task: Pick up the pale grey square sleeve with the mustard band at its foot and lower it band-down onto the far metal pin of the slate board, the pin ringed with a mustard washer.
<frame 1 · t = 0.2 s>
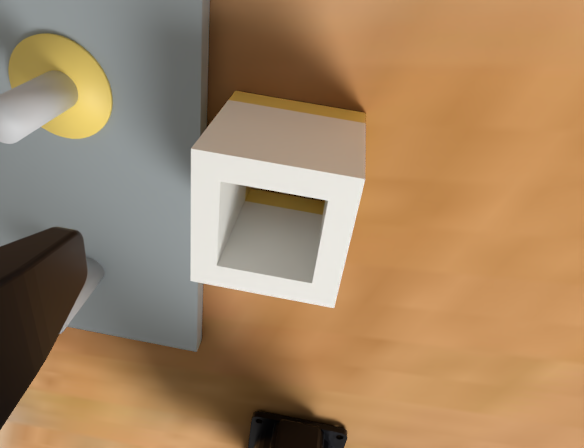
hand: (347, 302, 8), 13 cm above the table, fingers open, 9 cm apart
board: (88, 180, 23), on the table
sleeve: (292, 161, 21), on the table
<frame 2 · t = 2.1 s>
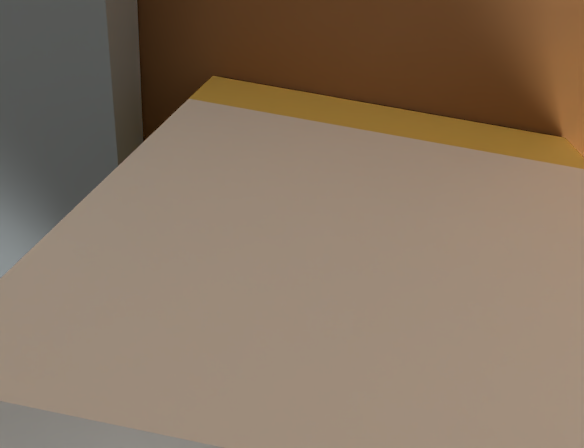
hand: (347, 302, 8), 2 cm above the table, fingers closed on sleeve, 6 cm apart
sleeve: (350, 248, 9), on the table, touching gripper
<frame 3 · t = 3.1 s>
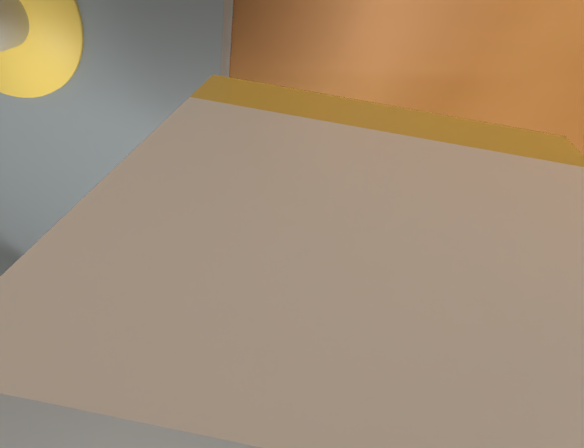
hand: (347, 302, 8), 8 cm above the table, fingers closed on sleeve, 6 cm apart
board: (52, 165, 16), on the table
sleeve: (350, 246, 9), point 6 cm above the table, touching gripper
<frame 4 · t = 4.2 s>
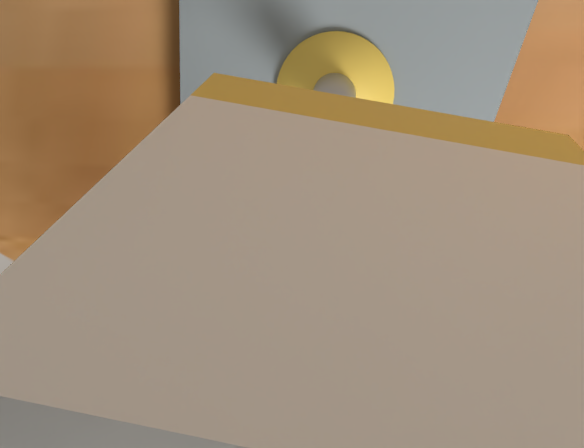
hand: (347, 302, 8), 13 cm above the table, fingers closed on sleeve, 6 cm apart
board: (317, 195, 21), on the table
sleeve: (352, 246, 9), point 11 cm above the table, touching gripper
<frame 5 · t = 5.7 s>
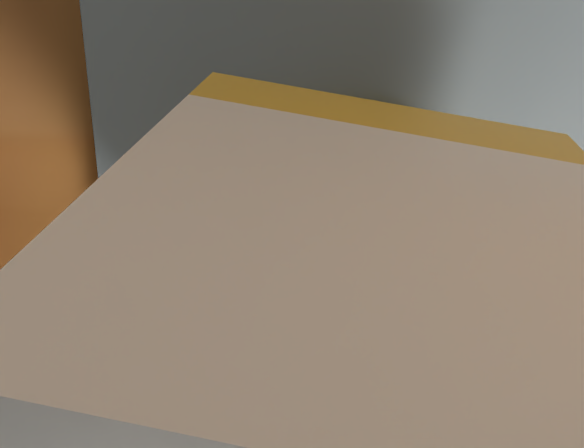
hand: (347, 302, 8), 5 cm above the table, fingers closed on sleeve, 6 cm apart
board: (318, 321, 14), on the table
sleeve: (351, 246, 9), point 3 cm above the table, touching gripper
when the fingers open (3 cm above the table, at t = 6.8 s): sleeve stays where it is, resting on board.
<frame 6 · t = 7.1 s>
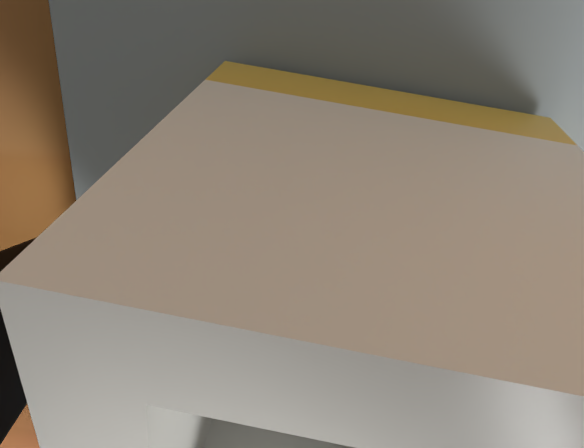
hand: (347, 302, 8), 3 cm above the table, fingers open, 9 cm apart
board: (316, 349, 13), on the table
sleeve: (352, 224, 9), point 1 cm above the table, touching board
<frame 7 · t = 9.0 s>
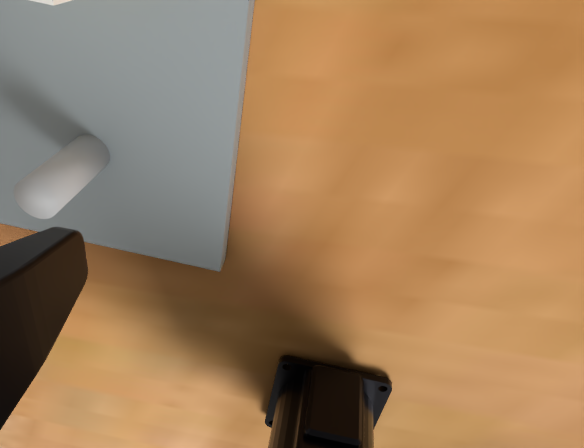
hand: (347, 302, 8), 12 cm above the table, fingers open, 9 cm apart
board: (94, 23, 18), on the table
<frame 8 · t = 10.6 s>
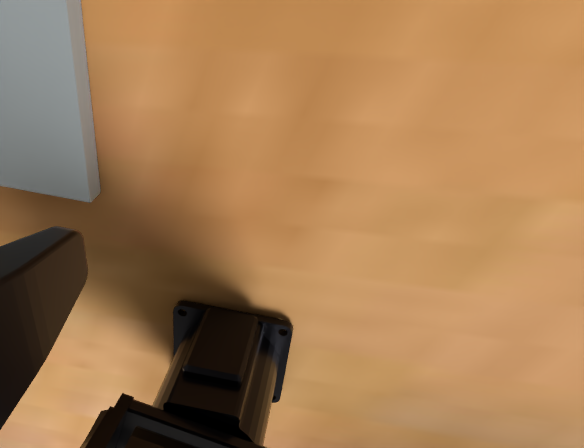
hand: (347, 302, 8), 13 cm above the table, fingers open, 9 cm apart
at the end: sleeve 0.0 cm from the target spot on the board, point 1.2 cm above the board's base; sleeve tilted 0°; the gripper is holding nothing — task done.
